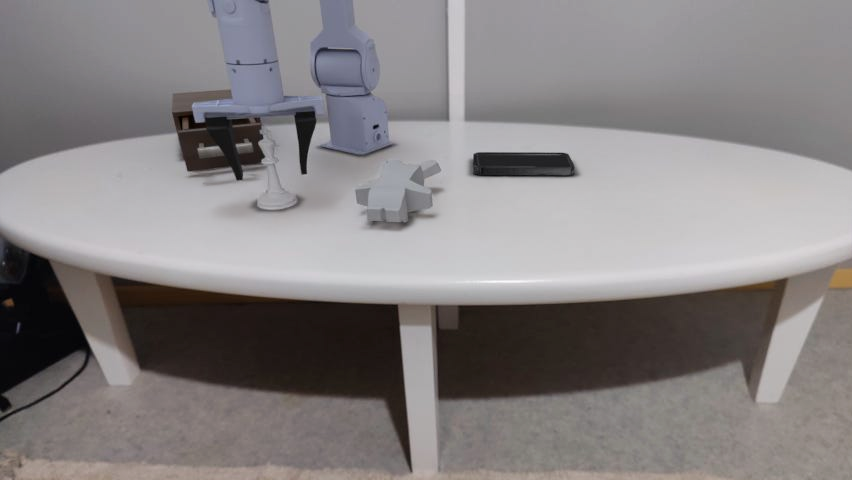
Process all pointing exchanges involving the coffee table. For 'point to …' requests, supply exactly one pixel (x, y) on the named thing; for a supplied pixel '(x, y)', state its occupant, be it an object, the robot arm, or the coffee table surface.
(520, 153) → the phone
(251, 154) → the drawer
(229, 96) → the cabinet
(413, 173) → the grey figure-shaped block
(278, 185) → the chess piece
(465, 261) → the coffee table surface
